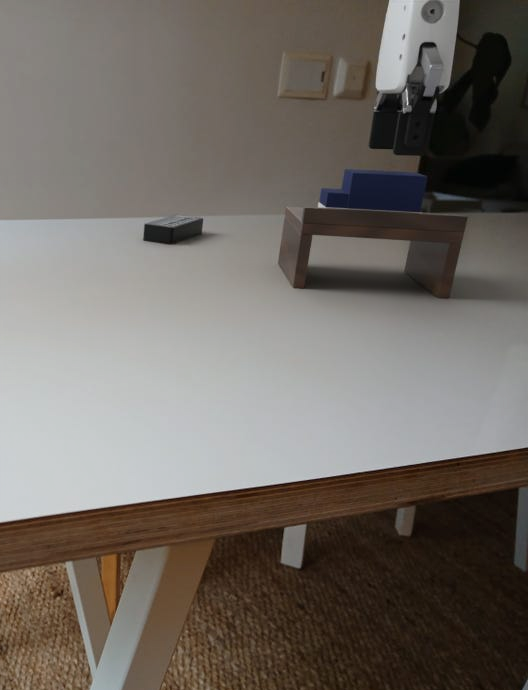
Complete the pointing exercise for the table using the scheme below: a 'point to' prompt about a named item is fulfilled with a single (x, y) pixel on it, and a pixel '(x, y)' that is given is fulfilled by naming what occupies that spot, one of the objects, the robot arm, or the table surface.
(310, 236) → the shelf
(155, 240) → the multiport hub
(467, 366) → the table surface
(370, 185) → the trainer
